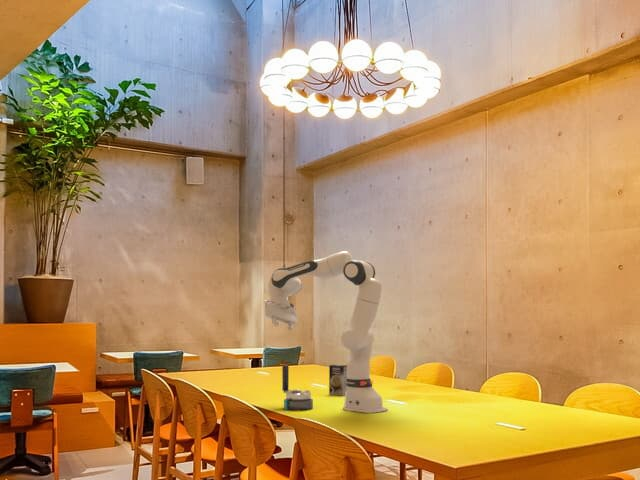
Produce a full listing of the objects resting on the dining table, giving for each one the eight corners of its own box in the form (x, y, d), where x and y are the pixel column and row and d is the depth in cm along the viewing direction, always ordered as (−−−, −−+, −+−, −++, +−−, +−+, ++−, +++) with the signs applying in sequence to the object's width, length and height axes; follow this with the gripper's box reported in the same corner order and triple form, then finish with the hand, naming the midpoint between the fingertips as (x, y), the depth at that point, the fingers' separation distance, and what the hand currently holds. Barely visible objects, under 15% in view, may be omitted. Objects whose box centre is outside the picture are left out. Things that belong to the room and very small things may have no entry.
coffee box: (328, 394, 368) (328, 365, 370) (333, 393, 374) (333, 364, 376) (343, 395, 364) (343, 365, 366) (348, 394, 370) (348, 364, 371)
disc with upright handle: (314, 398, 326) (314, 365, 328) (304, 401, 315) (304, 367, 317) (287, 396, 332) (287, 364, 333) (277, 400, 321) (277, 366, 322)
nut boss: (318, 408, 322) (318, 398, 322) (293, 411, 312) (293, 400, 313) (301, 404, 333) (301, 394, 333) (276, 407, 323) (276, 397, 324)
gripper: (268, 296, 335) (272, 320, 327) (297, 306, 349) (301, 329, 341) (260, 302, 338) (264, 325, 330) (289, 312, 352) (293, 335, 344)
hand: (283, 327), depth 336 cm, fingers open, 8 cm apart
